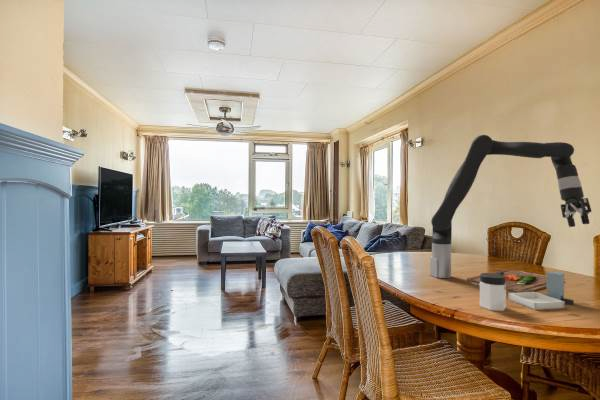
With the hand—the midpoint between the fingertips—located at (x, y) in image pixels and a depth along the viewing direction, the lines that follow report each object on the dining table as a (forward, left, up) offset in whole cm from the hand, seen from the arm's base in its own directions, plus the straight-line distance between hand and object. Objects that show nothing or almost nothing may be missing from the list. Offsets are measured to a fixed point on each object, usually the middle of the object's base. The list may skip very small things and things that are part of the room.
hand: (579, 225), depth 135 cm
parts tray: (-28, -8, -29) cm, 41 cm away
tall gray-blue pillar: (-17, -6, -29) cm, 35 cm away
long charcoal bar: (-17, -6, -29) cm, 35 cm away
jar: (-47, -9, -29) cm, 56 cm away
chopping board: (-9, +23, -30) cm, 39 cm away
